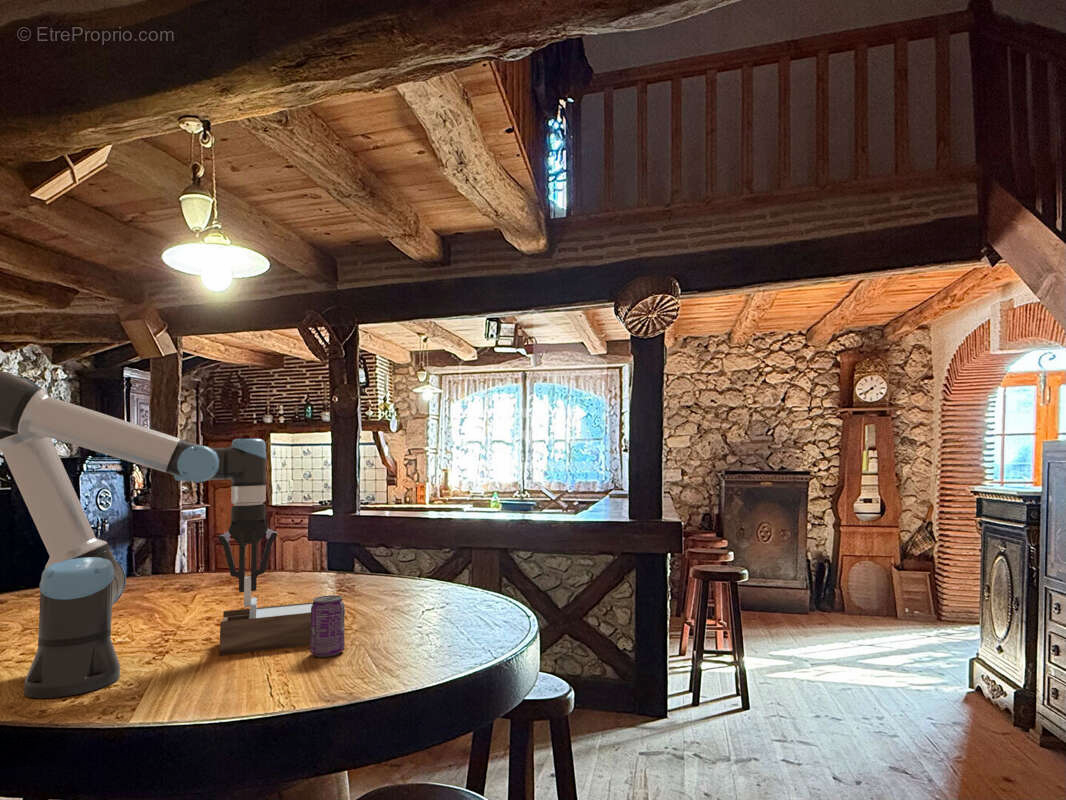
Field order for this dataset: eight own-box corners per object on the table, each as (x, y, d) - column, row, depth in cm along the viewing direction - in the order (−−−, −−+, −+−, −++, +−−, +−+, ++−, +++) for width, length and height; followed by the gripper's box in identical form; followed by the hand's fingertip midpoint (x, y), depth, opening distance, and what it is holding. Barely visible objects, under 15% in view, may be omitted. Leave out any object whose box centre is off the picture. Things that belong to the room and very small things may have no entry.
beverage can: (332, 647, 147) (332, 593, 148) (350, 652, 143) (351, 597, 144) (304, 655, 142) (304, 599, 143) (322, 660, 137) (322, 602, 139)
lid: (345, 613, 154) (345, 596, 154) (248, 624, 146) (248, 605, 147) (340, 605, 164) (340, 588, 164) (249, 614, 156) (250, 597, 156)
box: (324, 642, 151) (324, 611, 152) (219, 655, 143) (220, 622, 144) (320, 630, 162) (320, 601, 163) (223, 642, 154) (223, 611, 155)
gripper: (277, 501, 159) (277, 599, 157) (219, 504, 154) (217, 605, 152) (278, 503, 152) (277, 606, 150) (217, 506, 148) (215, 612, 145)
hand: (247, 605), depth 151 cm, fingers closed
